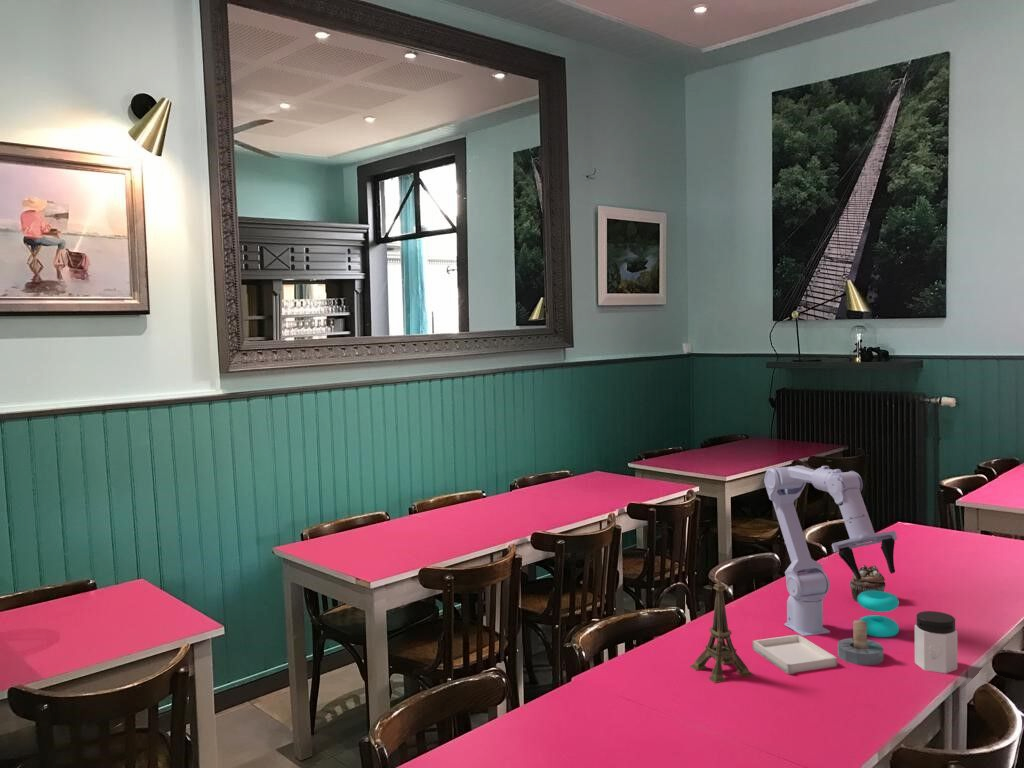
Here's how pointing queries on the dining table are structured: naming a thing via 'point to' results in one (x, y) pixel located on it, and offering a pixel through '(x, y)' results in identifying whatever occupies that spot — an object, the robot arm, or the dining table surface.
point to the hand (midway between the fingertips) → (876, 576)
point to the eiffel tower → (720, 643)
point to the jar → (936, 642)
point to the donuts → (879, 603)
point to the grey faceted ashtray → (860, 652)
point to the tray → (794, 653)
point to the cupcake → (867, 581)
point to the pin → (860, 634)
